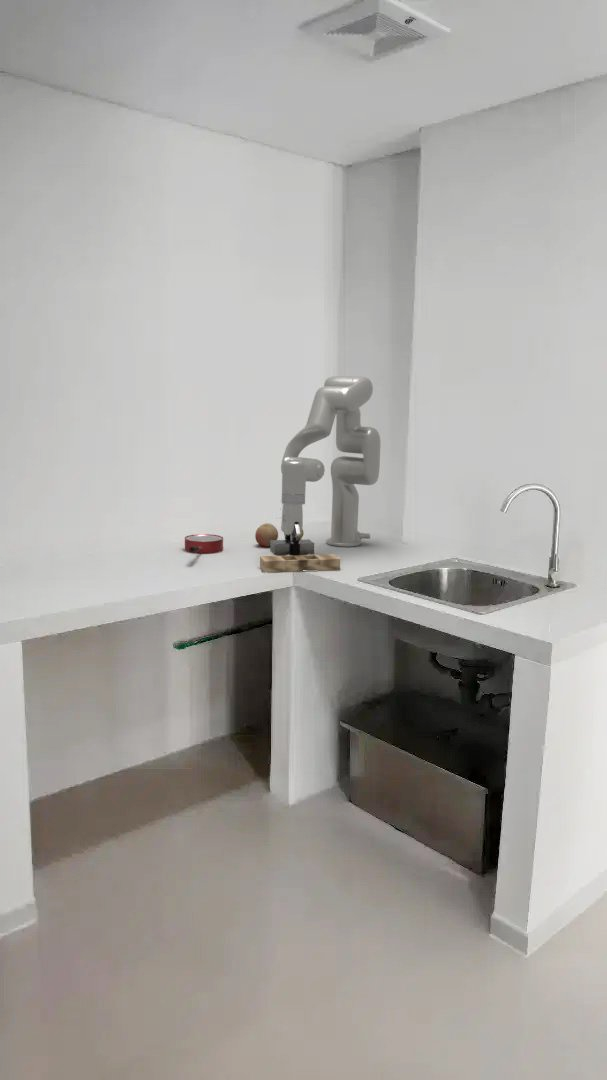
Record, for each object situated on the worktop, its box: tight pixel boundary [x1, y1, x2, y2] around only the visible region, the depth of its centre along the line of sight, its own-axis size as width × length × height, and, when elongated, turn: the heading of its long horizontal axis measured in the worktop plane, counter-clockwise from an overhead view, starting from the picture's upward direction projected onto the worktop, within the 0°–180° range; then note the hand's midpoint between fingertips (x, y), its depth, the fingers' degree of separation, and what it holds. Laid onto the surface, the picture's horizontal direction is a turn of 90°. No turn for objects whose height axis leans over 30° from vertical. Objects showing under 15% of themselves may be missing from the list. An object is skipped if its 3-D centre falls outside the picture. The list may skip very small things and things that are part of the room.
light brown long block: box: [259, 553, 341, 573], centre depth 247 cm, size 24×7×4 cm, turn 105°
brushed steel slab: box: [269, 539, 315, 556], centre depth 257 cm, size 13×6×6 cm, turn 105°
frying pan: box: [184, 533, 224, 555], centre depth 261 cm, size 32×13×6 cm, turn 4°
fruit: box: [254, 522, 279, 548], centre depth 279 cm, size 8×8×8 cm
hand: (291, 553), depth 257 cm, fingers closed on brushed steel slab, 6 cm apart
